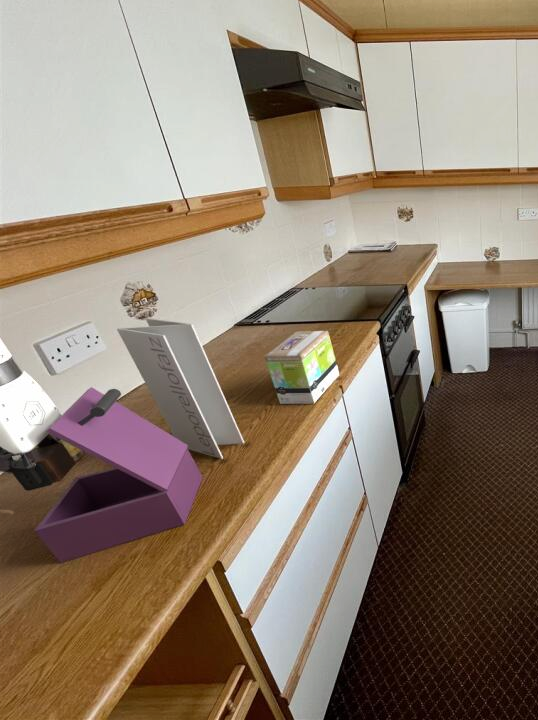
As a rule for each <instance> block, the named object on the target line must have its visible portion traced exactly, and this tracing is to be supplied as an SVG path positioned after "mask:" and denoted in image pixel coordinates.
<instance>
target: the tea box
mask: <svg viewBox="0 0 538 720" xmlns="http://www.w3.org/2000/svg"><path fill="white" fill-rule="evenodd" d="M264 359H265V363H266V366H267V368H268V372H269V374H270V377H271V381H272V384H273V387H274V390H275V393H276V396H277V398H278V402H279V404H280V405H308V404H310V405H312V404H313V405H314V404H316V402H317V400H319V399H320V398H321V396H322V395H323V394H324V393H325V392H326V391H327V390H328V388H329V387H330V386H331V385H332V383H334V382H335V381H336V380H337V378H338V377H339V376H340V371H339V367H338V363H337V359H336V356H335V351H334V348H333V345H332V341H331V336H330V334H329V331H328V330H313V331H312V330H305V331H304V330H303V331H302V330H301V331H294V332H293V333H292V334H291V335H289V336H288V337H287V338H286V339H284V340H283V341H282V342H280V343H279V344H278V345H276V346H274V347H273V348H272V349H271V350H270V351H268V352H267V353H266V354H264Z"/></svg>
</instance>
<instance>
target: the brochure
mask: <svg viewBox="0 0 538 720" xmlns="http://www.w3.org/2000/svg"><path fill="white" fill-rule="evenodd" d="M145 320H146V323H147V325H148V326H136V327H135V326H134V327H119V328H116V331H117V332H118V334H119V336H120V339H121V340H122V342H123V344H124V346H125V347H126V349H127V351H128V353H129V355H130V357H131V359H132V360H133V363H134V365H135V366H136V369H137V370H138V372H139V374H140V375H141V378H142V379H143V381H144V384H145V385H146V387H147V389H148V391H149V393H150V395H151V397H152V399H153V400H154V402H155V404H156V406H157V407H158V410H159V411H160V413H161V416H162V417H163V419H164V421H165V423H166V425H167V426H168V428H169V430H170V432H171V435H172V436H173V437H175V438H177V439H178V440H180V441H182V442H183V443H185V444H187V445H188V447H187V449H188V450H189V451H194V452H196V453H200V454H203V455H206V456H209V457H210V456H211V457H213V458H217V459H221V460H223V459H224V456H223V455H222V452H221V451H220V448H219V446H221V445H222V446H223V445H224V446H225V445H242V444H245V440H244V438H243V435H242V433H241V431H240V429H239V427H238V424H237V422H236V420H235V417H234V415H233V413H232V410H231V408H230V406H229V404H228V401H227V400H226V397H225V395H224V393H223V391H222V388H221V385H220V383H219V382H218V379H217V376H216V375H215V372H214V370H213V368H212V365H211V363H210V360H209V358H208V355H207V354H206V351H205V349H204V347H203V345H202V343H201V341H200V338H199V336H198V334H197V331H196V329H195V326H194V324H193V323H187V322H181V321H173V320H165V319H164V320H163V319H155V318H149V317H148V318H147V317H146V318H145Z"/></svg>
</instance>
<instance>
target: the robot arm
mask: <svg viewBox="0 0 538 720" xmlns="http://www.w3.org/2000/svg"><path fill="white" fill-rule="evenodd" d="M62 415H63V414H62V413H61V412H60V410H59V409H58V407H57V405H56V404H55V403H54V402H53V400H52V399H51V397H50V396H49V395H48V394H47V392H46V391H45V390H44V389H43V387H41V385H40V384H39V383H38V382H37V381H36V380H35V379H34V378H33V377H32V376H31V375H30V374H29V373H27V372H26V371H25V370H22V369H21V367H20V366H19V364H18V363H17V361H16V360H15V358H14V357H13V355H12V353H11V352H10V350H9V349H8V347H7V346H6V344H5V343H4V342H3V340H2V338H1V337H0V473H6V474H7V475H10V474H12V473H13V474H14V475H13V474H12V475H13V476H14V478H15V477H16V478H17V479H16V478H15V479H16V480H17V482H18V483H19V482H20V483H21V484H20V483H19V484H20V486H21V487H22V486H23V487H24V488H23V487H22V488H23V489H24V490H25V491H33V490H37V489H41V488H45V487H49V486H51V485H53V484H54V483H53V482H54V480H53V479H52V477H51V476H50V475H49V473H48V472H47V471H46V469H45V468H44V466H43V465H42V464H41V463H38V464H36V461H35V459H34V457H33V455H32V453H31V450H32V449H33V448H35V447H37V448H40V447H45V446H49V445H54V444H58V442H59V441H60V440H61V439H59V438H57V437H55V436H53V435H51V434H49V433H47V432H46V430H48V429H49V428H50V427H51V426H52V425H53V424H54V423H55V422H56V421H57V420H58V419H59V418H60V417H61V416H62ZM59 443H61V442H59ZM35 449H36V448H35ZM17 456H20V457H21V458H22V460H23V461H21V460H18V459H14V457H17Z"/></svg>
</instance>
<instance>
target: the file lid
mask: <svg viewBox="0 0 538 720" xmlns="http://www.w3.org/2000/svg"><path fill="white" fill-rule="evenodd" d="M121 396H122V393H121V391H120V390H119V389H117V388H111V389H108V390H107V391H106V392H105V393H102V392H101V391H99V390H97V389H95V388H94V387H92V386H91V387H90V388H88V389H87V390H86V391H85V392H83V394H82V395H81V396H80V397H79V398H78V399H76V401H74V402H73V404H72V405H71V406H70V407H69V408H67V410H66V411H64V413H62V414H61V415H62V416H61V417H60V418H59V419H58V420H57V421H56V422H55V423H54V424H53V425H52V426H51V427H50V428H49V429H48V430H46V432H47V433H49V434H51V435H53V436H55V437H57V438H59V439H61V440H63V441H65V442H67V443H69V444H71V445H73V446H75V447H77V448H78V449H80V450H81V451H82V452H85V453H87V454H88V455H90V456H92V457H94V458H96V459H98V460H100V461H101V462H104V463H106V464H108V465H109V466H111V467H112V468H114V467H115V468H117V469H119V470H121V471H123V472H125V473H127V474H129V475H131V476H133V477H135V478H137V479H138V480H140V481H142V482H144V483H146V484H148V485H150V486H152V487H154V488H156V489H158V490H160V491H162V492H165V491H166V490H167V489H168V487H169V485H170V483H171V481H172V478H173V476H174V474H175V472H176V470H177V468H178V466H179V464H180V462H181V460H182V457H183V455H184V453H185V451H186V449H187V447H188V445H187V444H185V443H183V442H182V441H180V440H178V439H177V438H175V437H174V436H173V434H170V433H168V432H167V431H165V430H164V429H162V428H160V427H159V426H157V425H156V424H154V423H152V422H150V421H149V420H147V419H145V418H144V417H141V415H139V414H137V413H135V412H134V411H132V410H130V409H129V408H127V407H125V406H124V405H122V404H120V403H119V402H117V401H118V400H119V398H120V397H121Z"/></svg>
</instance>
